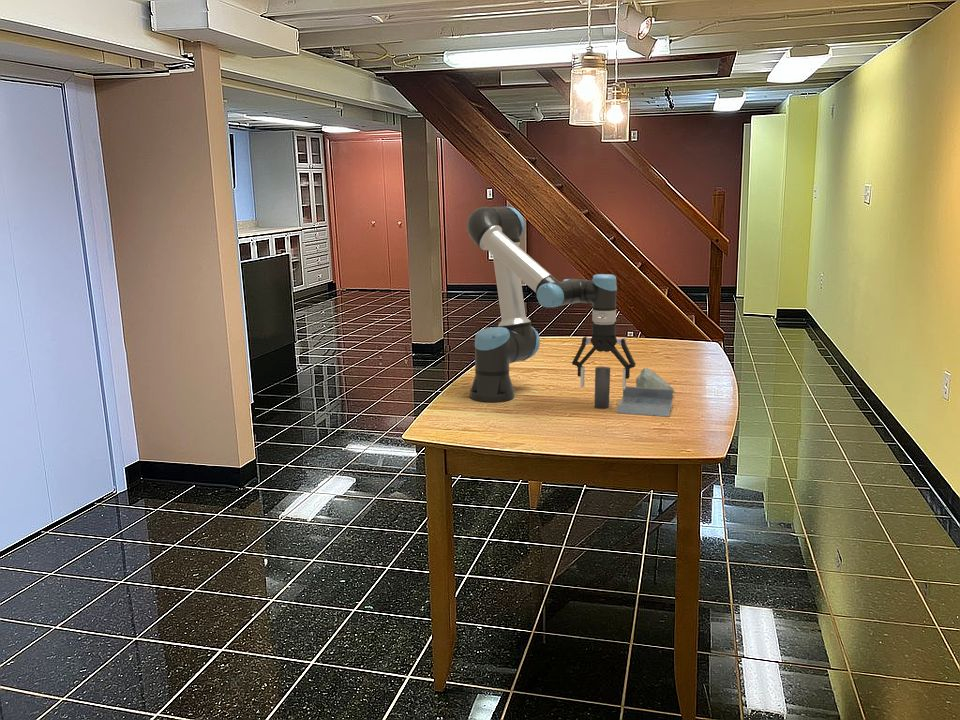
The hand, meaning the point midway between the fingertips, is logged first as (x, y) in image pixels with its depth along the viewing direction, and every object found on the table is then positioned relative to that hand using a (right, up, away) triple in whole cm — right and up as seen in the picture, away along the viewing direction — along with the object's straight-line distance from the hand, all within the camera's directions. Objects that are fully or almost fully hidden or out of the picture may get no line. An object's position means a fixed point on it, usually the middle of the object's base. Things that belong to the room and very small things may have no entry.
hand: (603, 387), depth 264 cm
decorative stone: (+20, -4, +16) cm, 26 cm away
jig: (+13, -7, -2) cm, 15 cm away
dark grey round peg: (0, -6, +2) cm, 7 cm away
